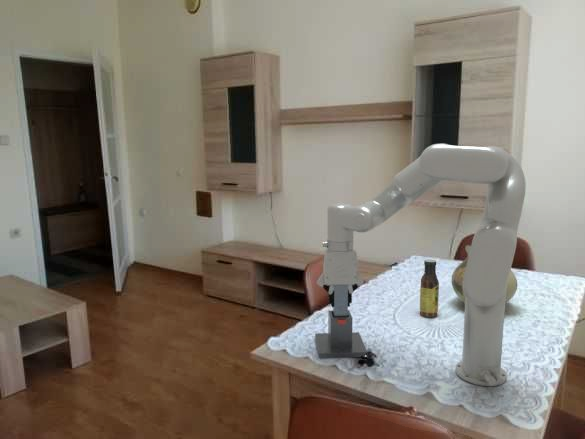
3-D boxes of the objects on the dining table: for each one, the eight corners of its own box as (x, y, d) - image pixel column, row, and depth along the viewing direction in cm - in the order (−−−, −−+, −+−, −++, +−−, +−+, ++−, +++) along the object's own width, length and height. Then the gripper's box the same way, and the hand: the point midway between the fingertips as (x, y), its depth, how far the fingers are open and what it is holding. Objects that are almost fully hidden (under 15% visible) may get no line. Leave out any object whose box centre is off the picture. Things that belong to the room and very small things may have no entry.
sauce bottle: (438, 318, 163) (441, 263, 160) (420, 317, 164) (422, 262, 161) (436, 312, 169) (439, 258, 166) (419, 311, 171) (420, 258, 167)
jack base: (367, 356, 135) (367, 322, 134) (319, 358, 135) (318, 323, 133) (358, 336, 149) (359, 305, 147) (315, 337, 149) (314, 306, 147)
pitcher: (475, 321, 160) (479, 250, 156) (436, 299, 183) (439, 236, 179) (529, 314, 166) (535, 246, 162) (485, 294, 189) (489, 233, 184)
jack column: (347, 344, 140) (348, 273, 136) (333, 344, 140) (334, 273, 136) (345, 338, 144) (346, 269, 140) (332, 338, 144) (332, 269, 140)
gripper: (312, 249, 133) (313, 310, 136) (371, 248, 133) (370, 309, 136) (310, 243, 140) (311, 301, 143) (366, 242, 141) (365, 300, 144)
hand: (340, 304), depth 140 cm, fingers closed on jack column, 4 cm apart
